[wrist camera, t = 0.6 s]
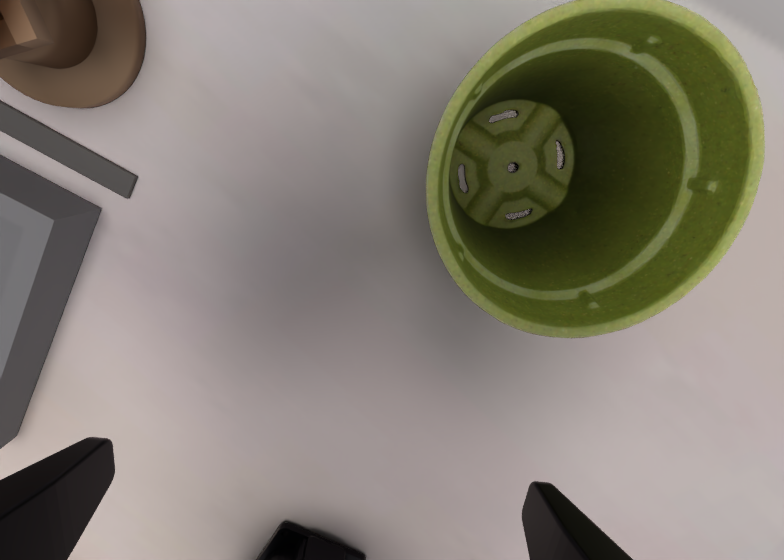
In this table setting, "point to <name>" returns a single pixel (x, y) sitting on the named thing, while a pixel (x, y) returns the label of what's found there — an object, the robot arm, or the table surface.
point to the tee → (71, 49)
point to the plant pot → (595, 166)
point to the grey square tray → (34, 278)
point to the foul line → (65, 151)
